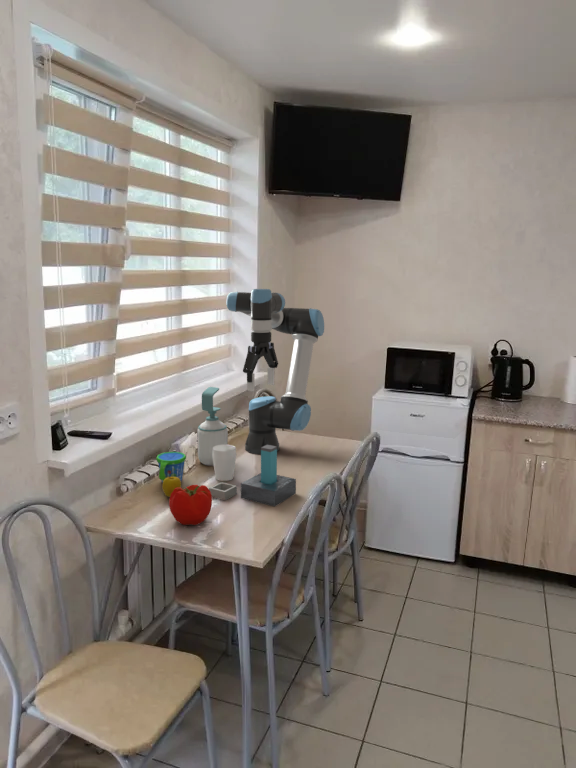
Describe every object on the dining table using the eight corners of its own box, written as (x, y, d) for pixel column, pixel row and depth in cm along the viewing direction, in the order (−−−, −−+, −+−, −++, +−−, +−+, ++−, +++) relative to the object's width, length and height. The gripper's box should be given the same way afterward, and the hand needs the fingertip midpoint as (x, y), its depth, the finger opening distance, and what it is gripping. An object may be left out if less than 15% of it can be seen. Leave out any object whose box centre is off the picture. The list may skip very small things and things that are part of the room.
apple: (159, 498, 211) (158, 476, 209) (169, 492, 217) (168, 471, 215) (175, 501, 208) (174, 479, 207) (184, 495, 214) (184, 473, 213)
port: (263, 485, 224) (263, 470, 222) (295, 493, 217) (295, 478, 215) (240, 498, 212) (240, 482, 211) (274, 506, 205) (274, 490, 204)
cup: (232, 483, 226) (232, 452, 224) (209, 481, 228) (208, 450, 226) (239, 474, 235) (239, 445, 233) (216, 473, 237) (216, 443, 234)
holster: (221, 489, 219) (221, 482, 219) (237, 493, 216) (236, 485, 215) (209, 496, 213) (209, 488, 213) (225, 500, 210) (225, 492, 209)
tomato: (176, 533, 184) (175, 497, 181) (166, 516, 197) (164, 481, 194) (218, 526, 189) (217, 491, 187) (205, 509, 202) (205, 476, 199)
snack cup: (172, 491, 218) (171, 464, 216) (147, 486, 222) (146, 460, 220) (194, 477, 232) (194, 451, 230) (171, 473, 236) (170, 448, 234)
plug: (267, 490, 217) (267, 444, 213) (276, 492, 215) (276, 446, 211) (260, 493, 213) (260, 447, 210) (270, 496, 211) (270, 449, 208)
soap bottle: (233, 460, 252) (233, 387, 246) (217, 469, 241) (216, 392, 235) (209, 456, 257) (208, 384, 251) (191, 464, 246) (190, 389, 240)
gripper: (271, 327, 236) (270, 381, 240) (232, 333, 215) (233, 392, 219) (287, 328, 232) (286, 383, 236) (250, 335, 211) (250, 394, 215)
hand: (261, 387), depth 228 cm, fingers open, 13 cm apart
